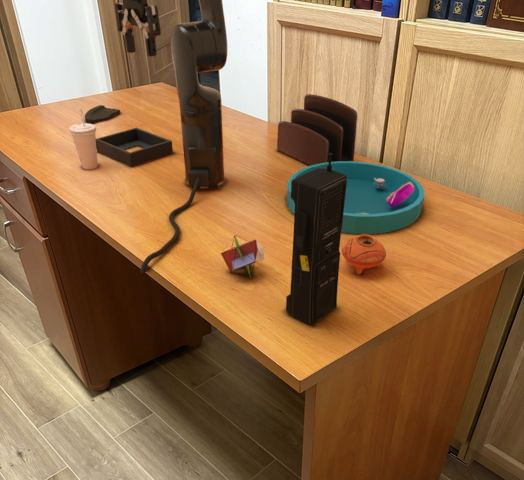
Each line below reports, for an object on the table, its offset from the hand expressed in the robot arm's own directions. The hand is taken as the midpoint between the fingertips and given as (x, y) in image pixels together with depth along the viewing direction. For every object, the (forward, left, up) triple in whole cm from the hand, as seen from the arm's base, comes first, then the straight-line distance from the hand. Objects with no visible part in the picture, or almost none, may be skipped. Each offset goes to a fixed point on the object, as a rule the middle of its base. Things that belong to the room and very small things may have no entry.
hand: (141, 54), depth 131 cm
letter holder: (-8, -44, -23) cm, 50 cm away
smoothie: (-14, +14, -23) cm, 30 cm away
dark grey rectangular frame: (-4, +4, -23) cm, 24 cm away
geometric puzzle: (-65, -25, -23) cm, 73 cm away
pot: (-64, -47, -23) cm, 82 cm away
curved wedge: (+28, +20, -23) cm, 42 cm away
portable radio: (-78, -36, -23) cm, 89 cm away
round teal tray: (-36, -50, -23) cm, 65 cm away
